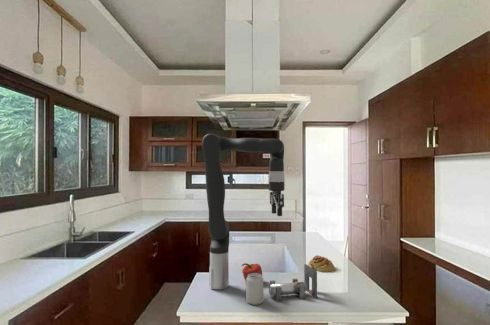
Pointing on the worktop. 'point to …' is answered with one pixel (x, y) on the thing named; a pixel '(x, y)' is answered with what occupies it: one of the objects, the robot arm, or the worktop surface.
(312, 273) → the frame
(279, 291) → the grey metal blocks
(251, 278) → the can
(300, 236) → the worktop surface
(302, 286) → the grey u-shaped bracket
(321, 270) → the pastry
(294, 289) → the tube
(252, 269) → the vegetable
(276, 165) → the robot arm
